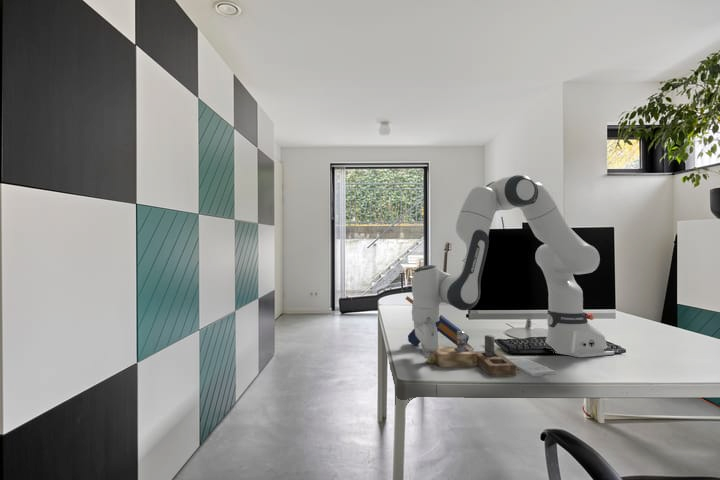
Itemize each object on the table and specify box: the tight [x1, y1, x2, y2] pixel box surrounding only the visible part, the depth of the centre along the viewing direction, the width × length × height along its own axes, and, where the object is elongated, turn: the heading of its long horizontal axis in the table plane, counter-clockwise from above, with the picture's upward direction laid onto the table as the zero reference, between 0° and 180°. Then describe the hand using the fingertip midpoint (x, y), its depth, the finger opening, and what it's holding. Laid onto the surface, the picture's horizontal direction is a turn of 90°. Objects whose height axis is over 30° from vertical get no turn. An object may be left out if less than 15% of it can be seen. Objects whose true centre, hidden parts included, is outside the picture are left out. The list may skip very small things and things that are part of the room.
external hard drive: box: [509, 358, 557, 377], centre depth 127 cm, size 2×8×12 cm
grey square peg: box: [456, 330, 467, 352], centre depth 134 cm, size 3×3×10 cm
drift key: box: [427, 351, 437, 365], centre depth 134 cm, size 8×3×3 cm, turn 93°
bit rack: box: [473, 334, 517, 377], centre depth 129 cm, size 8×15×9 cm, turn 3°
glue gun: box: [405, 295, 474, 351], centre depth 153 cm, size 6×31×15 cm
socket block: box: [432, 345, 478, 368], centre depth 134 cm, size 12×9×4 cm
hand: (425, 356), depth 134 cm, fingers closed
